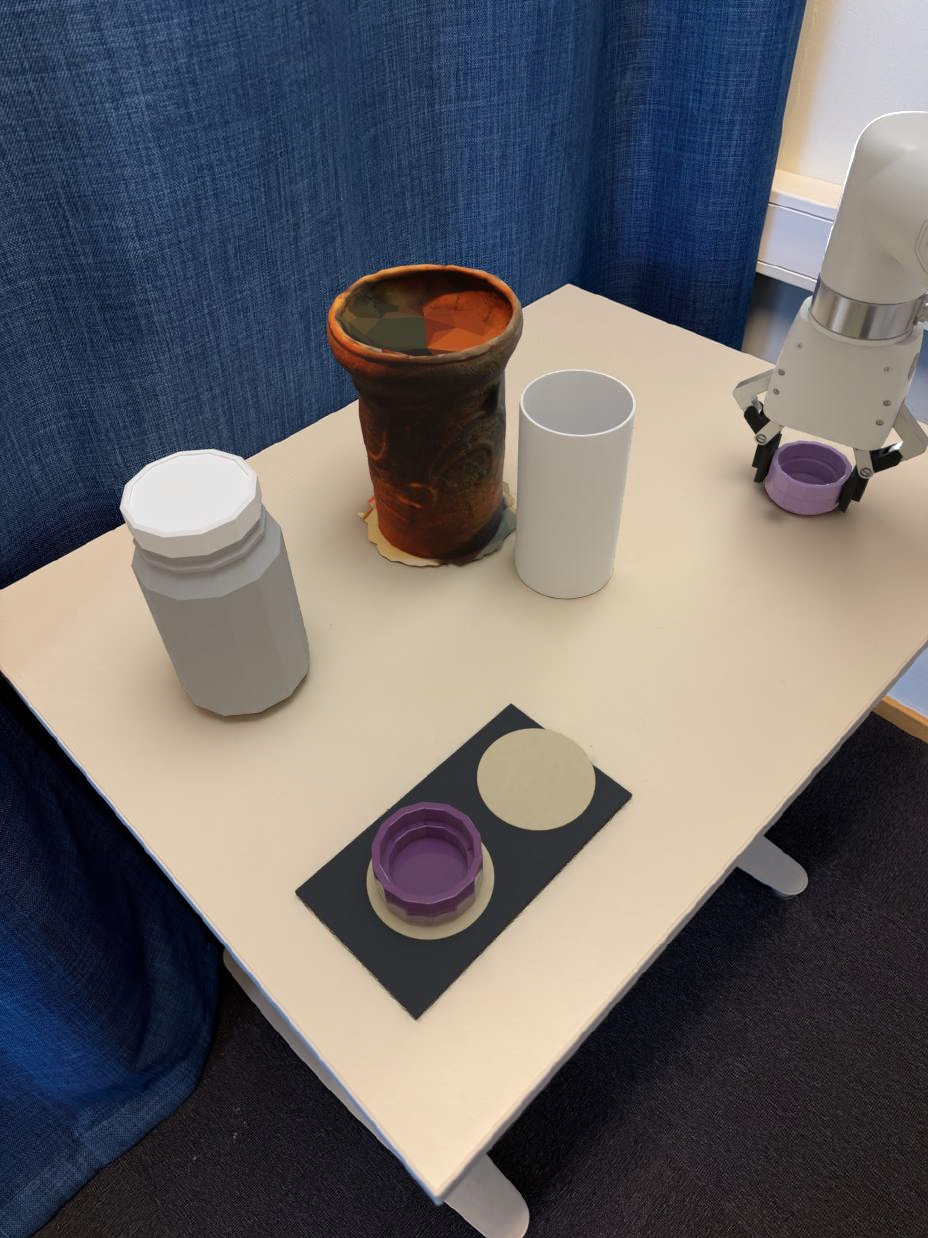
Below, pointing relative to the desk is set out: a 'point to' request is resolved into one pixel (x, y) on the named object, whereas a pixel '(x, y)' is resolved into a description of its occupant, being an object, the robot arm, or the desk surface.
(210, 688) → the jar
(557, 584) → the cup
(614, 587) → the desk surface
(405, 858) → the plum dish
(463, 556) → the vessel
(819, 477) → the lilac dish
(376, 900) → the mat
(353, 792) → the desk surface
